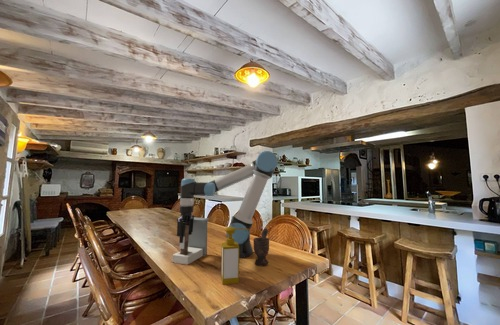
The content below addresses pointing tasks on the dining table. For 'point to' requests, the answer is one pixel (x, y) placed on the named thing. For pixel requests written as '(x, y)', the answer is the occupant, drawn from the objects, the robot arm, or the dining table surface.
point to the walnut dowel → (186, 235)
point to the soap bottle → (230, 258)
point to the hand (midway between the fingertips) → (184, 247)
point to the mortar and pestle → (261, 248)
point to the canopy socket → (194, 243)
